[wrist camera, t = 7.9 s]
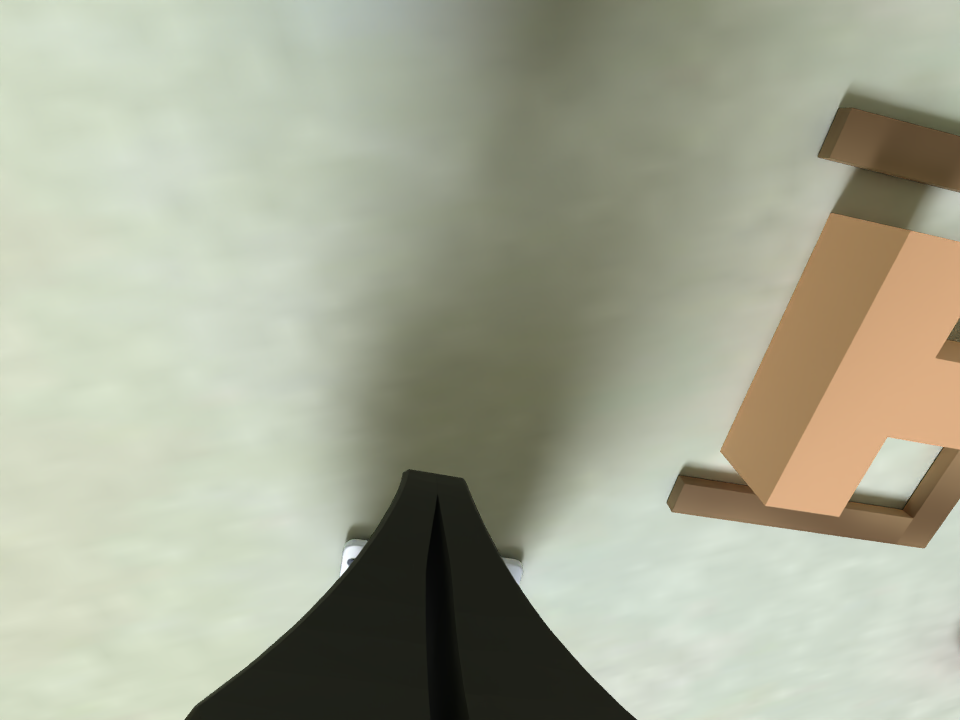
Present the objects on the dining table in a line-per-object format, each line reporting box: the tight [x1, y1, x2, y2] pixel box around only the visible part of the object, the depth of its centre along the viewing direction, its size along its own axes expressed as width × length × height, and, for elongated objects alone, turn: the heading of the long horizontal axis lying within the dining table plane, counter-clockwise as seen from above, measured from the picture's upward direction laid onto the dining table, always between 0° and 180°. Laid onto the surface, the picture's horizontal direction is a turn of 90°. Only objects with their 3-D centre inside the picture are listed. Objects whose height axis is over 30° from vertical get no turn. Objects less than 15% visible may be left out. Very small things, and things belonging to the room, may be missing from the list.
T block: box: [720, 213, 960, 517], centre depth 19 cm, size 9×10×4 cm
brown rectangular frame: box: [667, 108, 960, 548], centre depth 20 cm, size 16×12×1 cm
